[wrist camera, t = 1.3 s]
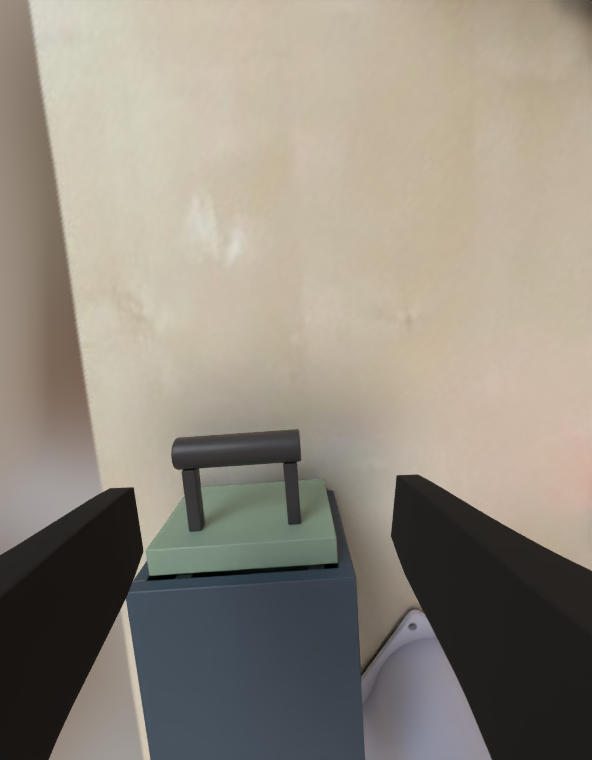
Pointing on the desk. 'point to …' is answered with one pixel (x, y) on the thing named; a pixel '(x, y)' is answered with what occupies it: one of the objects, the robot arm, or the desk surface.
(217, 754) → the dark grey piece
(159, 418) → the desk surface
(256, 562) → the drawer
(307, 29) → the desk surface
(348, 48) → the desk surface
